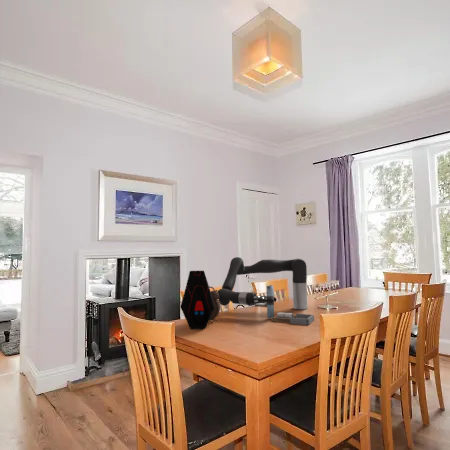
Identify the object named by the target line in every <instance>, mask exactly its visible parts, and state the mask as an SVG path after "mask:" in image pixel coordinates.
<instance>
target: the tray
mask: <svg viewBox="0 0 450 450" xmlns="http://www.w3.org/2000/svg"><path fill="white" fill-rule="evenodd" d="M295 316H296V318H290V323H289V324H292V325H303V326H304V325H305V326H309V325H310V324H312V323H313V322H314V321H315V314H306V313H296V314H295Z"/></svg>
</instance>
